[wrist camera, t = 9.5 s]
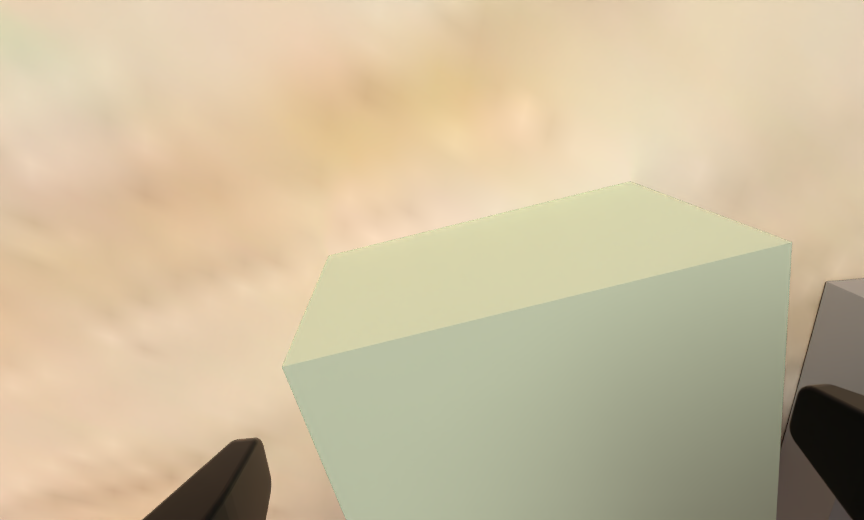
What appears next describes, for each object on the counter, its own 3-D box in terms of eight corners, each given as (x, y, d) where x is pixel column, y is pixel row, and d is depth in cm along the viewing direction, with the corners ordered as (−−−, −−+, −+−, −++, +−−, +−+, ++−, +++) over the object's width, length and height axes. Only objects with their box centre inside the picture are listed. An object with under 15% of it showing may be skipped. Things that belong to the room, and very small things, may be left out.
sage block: (644, 418, 11) (772, 586, 7) (405, 476, 11) (409, 671, 7) (625, 179, 9) (792, 242, 5) (330, 252, 9) (281, 366, 5)
